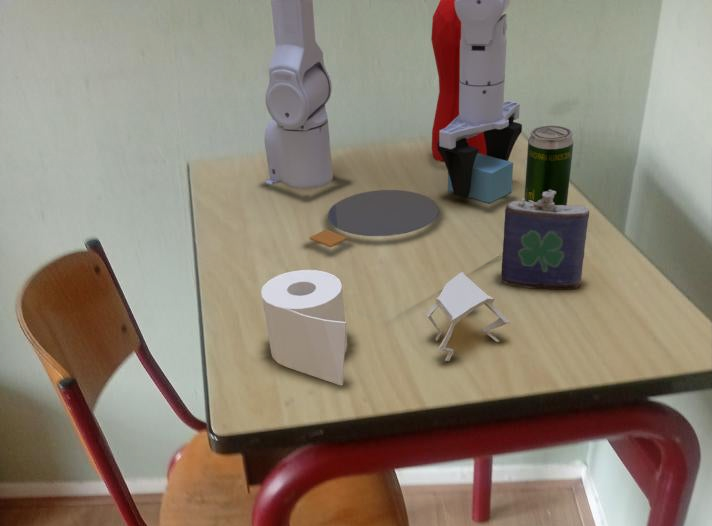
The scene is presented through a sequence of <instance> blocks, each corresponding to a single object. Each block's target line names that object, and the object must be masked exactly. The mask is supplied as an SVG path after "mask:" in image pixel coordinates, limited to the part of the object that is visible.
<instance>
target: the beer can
mask: <svg viewBox="0 0 712 526" xmlns="http://www.w3.org/2000/svg"><path fill="white" fill-rule="evenodd" d="M573 150H574V138H573V130H572V129H570V128H569V127H566V126H562V125H542V126H541V125H540V126H538V127H534V128H533V129H532V130H531V131H530V136H529V139H528V140H527V153H526V154H527V155H526V169H525V184H524V196H523V198H525V201H526V202H529V200H531V201H533V202H536V203H537V201H538V200H541V199H542V198H543V196H542V194H543V192H545V191H547V192H549V191H548V190H552V191H556V194H555V195H554V198H553V202H554V203H555V204H554V205H565V206H568V197H569V188H570V178H571V170H572V169H571V168H572V160H573Z"/></svg>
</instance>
